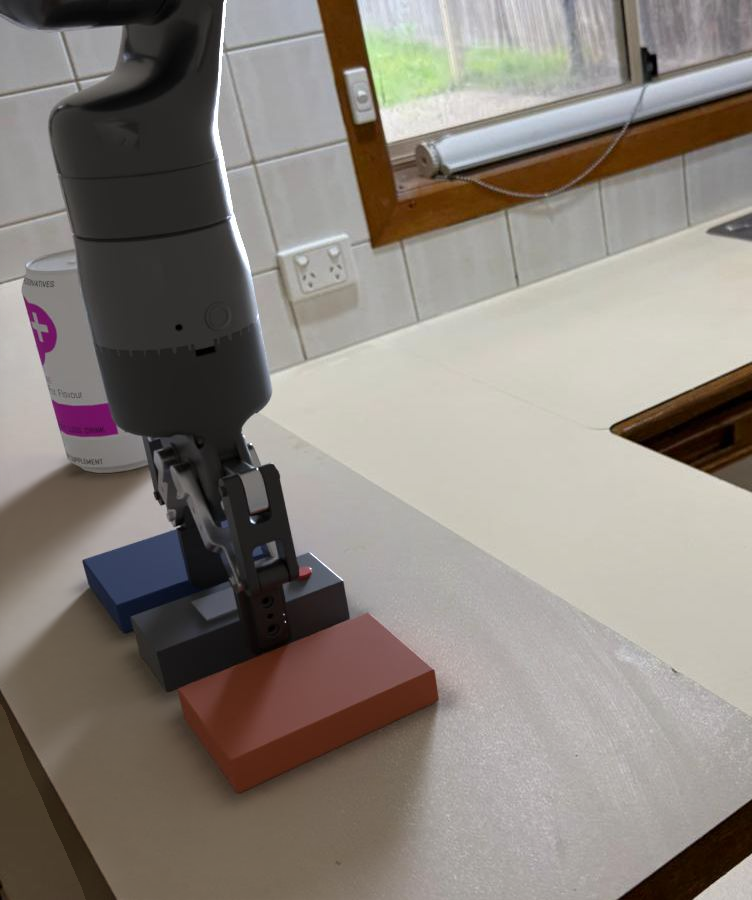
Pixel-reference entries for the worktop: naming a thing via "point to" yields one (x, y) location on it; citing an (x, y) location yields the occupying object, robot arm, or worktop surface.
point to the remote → (230, 625)
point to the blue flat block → (142, 576)
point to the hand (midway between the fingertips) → (239, 613)
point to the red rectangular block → (306, 699)
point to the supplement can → (75, 368)
